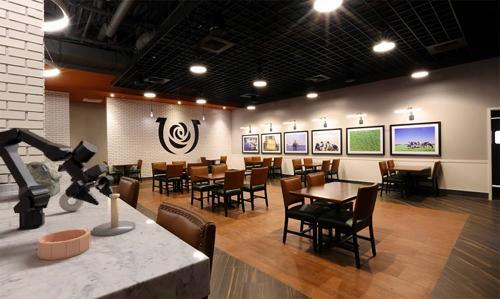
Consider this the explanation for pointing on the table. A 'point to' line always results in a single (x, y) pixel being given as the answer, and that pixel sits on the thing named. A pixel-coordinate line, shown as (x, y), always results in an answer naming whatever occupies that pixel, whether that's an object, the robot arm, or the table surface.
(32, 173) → the lunch bag
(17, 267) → the table surface
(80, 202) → the donut
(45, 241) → the bowl
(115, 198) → the cover
